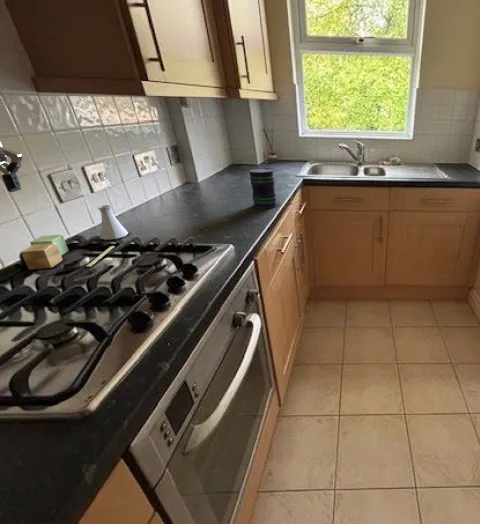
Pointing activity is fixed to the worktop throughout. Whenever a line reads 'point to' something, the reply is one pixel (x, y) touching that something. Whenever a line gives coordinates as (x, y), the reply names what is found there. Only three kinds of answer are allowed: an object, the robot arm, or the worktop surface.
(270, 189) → the storage jar
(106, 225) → the flask
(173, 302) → the worktop surface
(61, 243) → the sage block
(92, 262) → the tape strip
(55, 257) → the beech block
